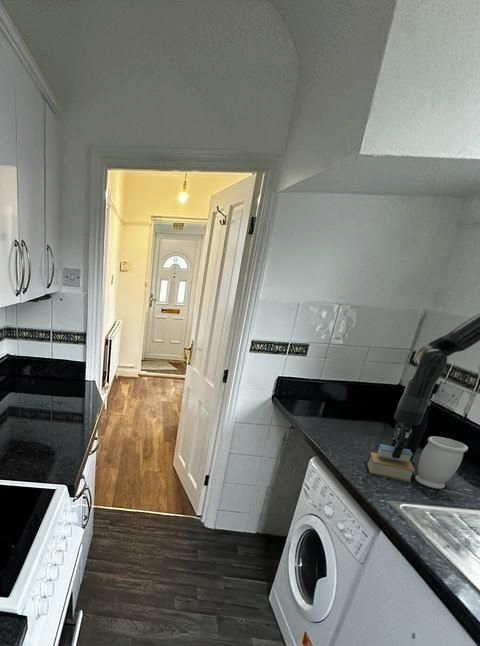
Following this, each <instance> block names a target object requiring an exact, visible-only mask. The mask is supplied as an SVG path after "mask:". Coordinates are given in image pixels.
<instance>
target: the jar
mask: <svg viewBox="0 0 480 646" xmlns="http://www.w3.org/2000/svg"><path fill="white" fill-rule="evenodd" d="M468 449H469V447H468V445H466V444H465V443H463V442H461V441H458V440H455V439H452V438H448V437H442V436H435V435H433V436H429V437H428V438H427V444H425V447H424V448H423V449H422V452H421V453H420V456H419V460H418V461H419V462H418V464H417V475H415V476H414V480H416V482H417V483H419V484H421V485H423V486H426V487H428V488H432V489H444V488H445V487H446V483H447V482H448V481H449V480H450V479H452V477H453V476H454V475H455V473H456V472H457V471H458V469H459V468H460V466H461V464H462V461H463V458H464V453H466V452H467V451H468Z"/></svg>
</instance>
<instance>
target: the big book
mask: <svg viewBox="0 0 480 646" xmlns="http://www.w3.org/2000/svg"><path fill="white" fill-rule="evenodd" d="M366 464H367V468H368V472H369V474H371V475H376V476H380V477H386V478H391V479H395V480H400V481H404V482H409V483H410V482H411V481H412V480H411V478H412V476H413V474H414V472H415V471H416V469H415V467H414V466H413V463H412V462H411V461H410V463H407V462H402V461H397V460H392V459H387V458H382V457H379V455H378V452H374V451H370V453H369V455H368V458H367V461H366Z"/></svg>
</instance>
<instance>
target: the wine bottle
mask: <svg viewBox="0 0 480 646" xmlns="http://www.w3.org/2000/svg"><path fill="white" fill-rule="evenodd" d="M440 386H441V385H440V384H439V383H437V382H436V383H435V384H434V387H433V390H432V393H431V395H430V398H429V402H428V406H427V408H426V411H425V413H424V416H423V418H422V421H421V423H420V424H419V425H412V426H411V429H412V436H411V439H410V441H409V443H408V445H407V448H406V449H410V450H411V452H412V454H413V456H411V458H410V461H411V463H412V462H413V459H414V457H415V454H416V452H417V450H418V448H419V445H420V444H421V441H422V439H423V436H424V434H425V432H426V429H427V426H428V420H429V419H428V417H429V416H428V413H429V411H430V409H431V403H432V399H433V396H434V395H436V394H437V393H438V390H439V388H440ZM401 444H402V445H403V442H401Z"/></svg>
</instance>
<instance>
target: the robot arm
mask: <svg viewBox="0 0 480 646" xmlns="http://www.w3.org/2000/svg"><path fill="white" fill-rule="evenodd" d="M479 342H480V312H479V313H477V314H475V315H474V316H471V318H469V319H467V320H466V321H464V322H462V323H461V324H459V325H458V326H457V327H455V328H454V329H452V330H450V331H449V332H447V333H446V334H444V335H442V336H440V337H438V338H436V339H435V340H432V341H430V342H428V343H427V344H425V345H424V346H422V347H420V349H418V350H417V351H416V352H415V354H414V356H413V362H414V364H415V365H416V366H417V368H416V369H415V372H414V374H413V376H411V377H410V378H409V379H408V380H407V383H406V385H405V389H404V391H403V393H402V395H401V397H400V399H399V402H398V405H397V408H396V410H395V413H394V416H393V420H394V421H395V426H394V428H393V431H392V435H391V444H390V446H394V447H395V449H394V452H393V454H392V457H393V458H398V459H399V458H400V456H401V454H402V451H403V449H406V448H407V445H408V443H409V441H410V439H411V436H412V429H411V426H412V425H419V424H420V423H421V421H422V418H423V416H424V413H425V411H426V408H427V406H428V402H429V400H430V399H429V398H430V395H431V393H432V390H433V387H434V384H435V383H437V382H438V380H439V379H440V377H441V376H442V373H443V372H444V371H445V368H446V366H447V363H448V357H450V356H451V355H453V354H455V353H459V352H464V351H466V350H467V349H469V348H471V347H473V346H474V345H476V344H478V343H479ZM401 442H403V445H402V444H401Z"/></svg>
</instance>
